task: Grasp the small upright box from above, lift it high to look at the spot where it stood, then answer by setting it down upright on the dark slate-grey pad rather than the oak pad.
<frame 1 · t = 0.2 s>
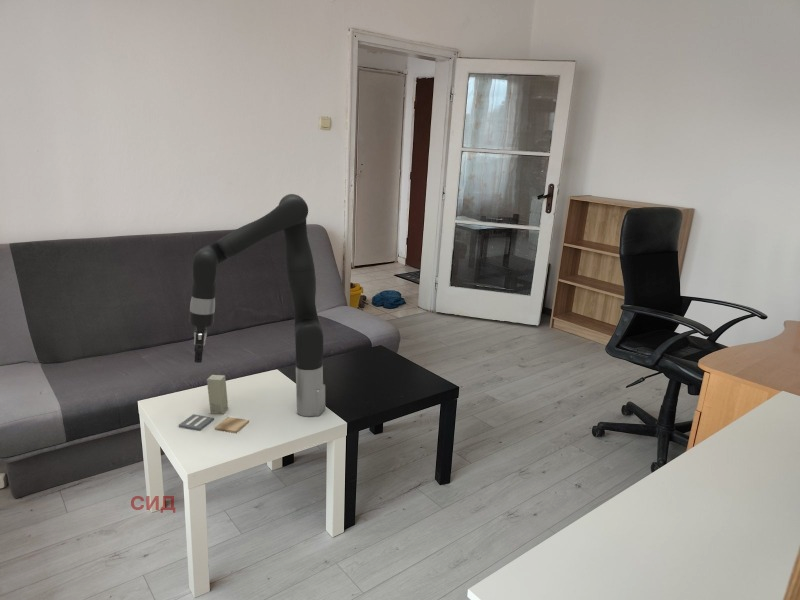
hand: (198, 357, 183), 22 cm above the table, tool pointing down, fingers open, 8 cm apart
pad oak: (232, 426, 185), on the table
pad slate: (196, 423, 186), on the table
box: (218, 411, 195), on the table
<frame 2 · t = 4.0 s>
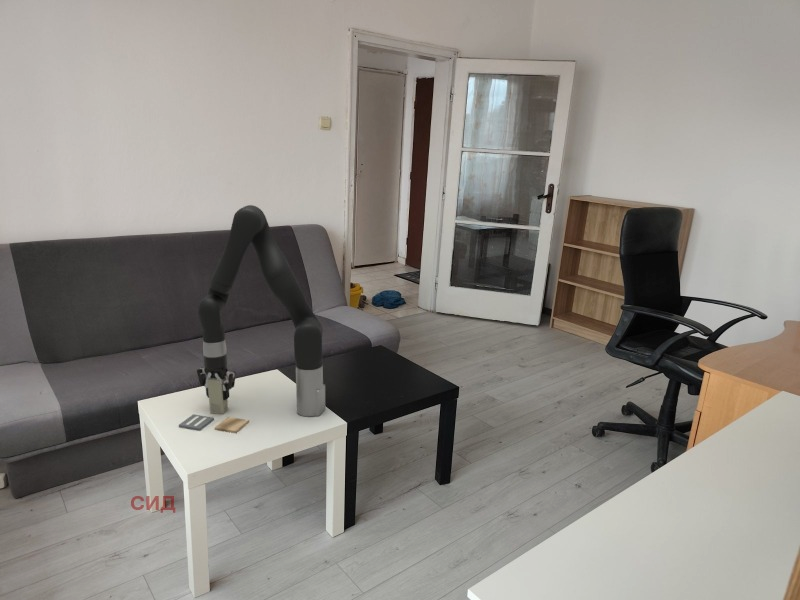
hand: (217, 398, 194), 5 cm above the table, tool pointing down, fingers closed on box, 5 cm apart
box: (218, 411, 195), on the table, touching gripper
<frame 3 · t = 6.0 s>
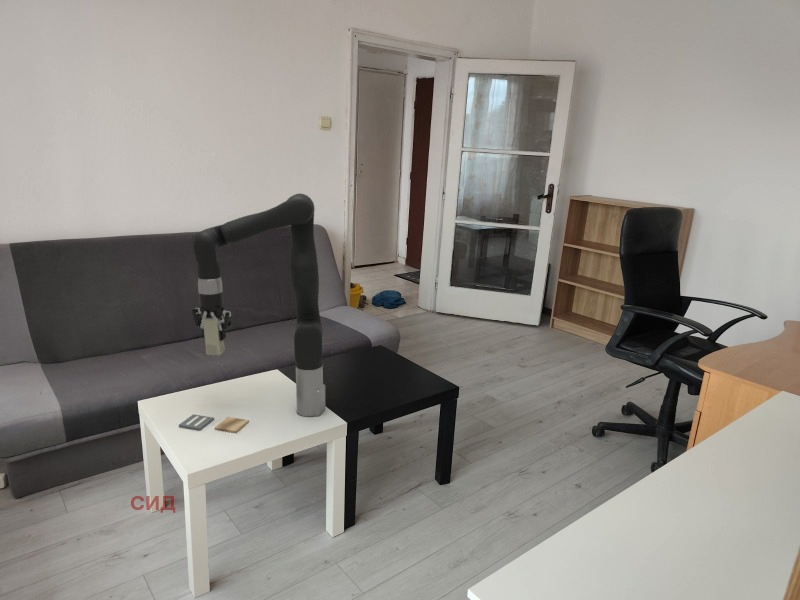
hand: (214, 339, 188), 27 cm above the table, tool pointing down, fingers closed on box, 5 cm apart
box: (215, 353, 190), point 21 cm above the table, touching gripper
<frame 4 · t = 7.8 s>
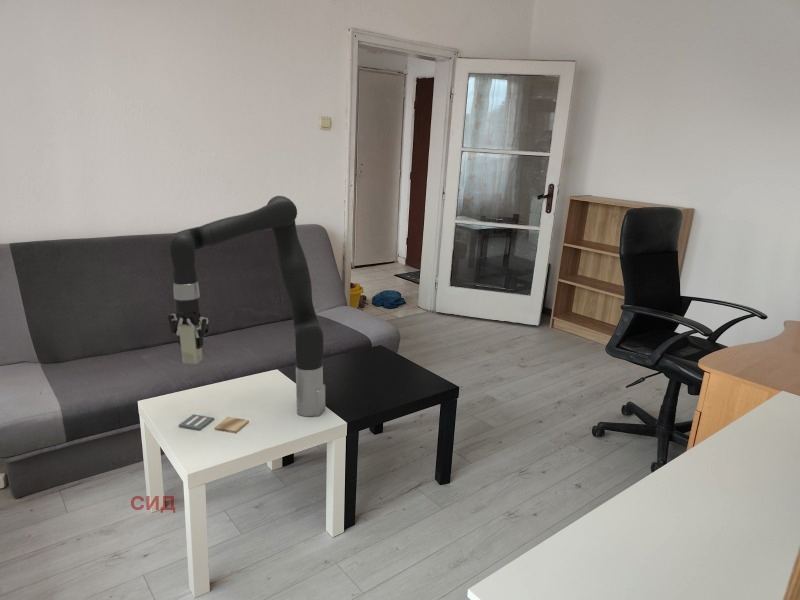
hand: (191, 346, 179), 27 cm above the table, tool pointing down, fingers closed on box, 5 cm apart
box: (192, 362, 181), point 22 cm above the table, touching gripper
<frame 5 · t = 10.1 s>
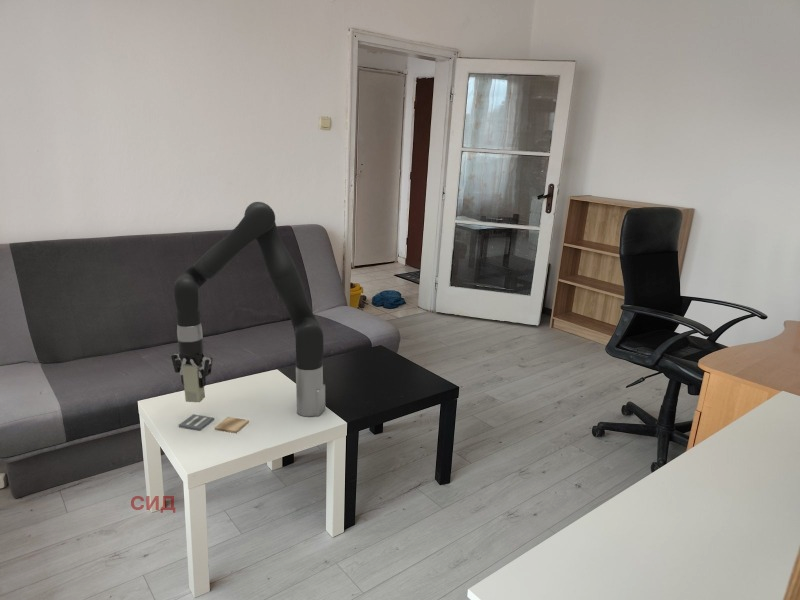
hand: (193, 385, 183), 14 cm above the table, tool pointing down, fingers closed on box, 5 cm apart
box: (195, 400, 184), point 8 cm above the table, touching gripper
when the fingers open (7 cm above the table, at t = 12.0 s): box stays where it is, resting on pad slate.
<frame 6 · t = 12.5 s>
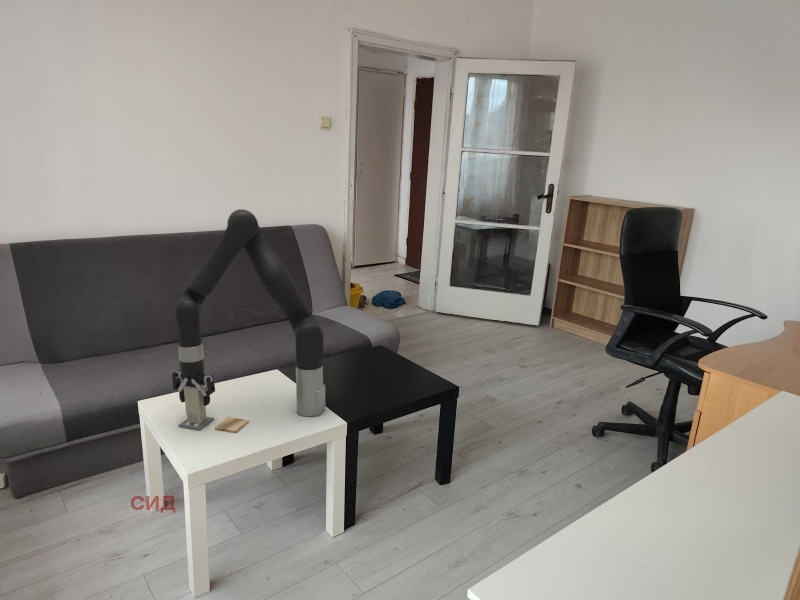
hand: (195, 403, 184), 7 cm above the table, tool pointing down, fingers open, 8 cm apart
box: (196, 421, 186), point 1 cm above the table, touching pad slate
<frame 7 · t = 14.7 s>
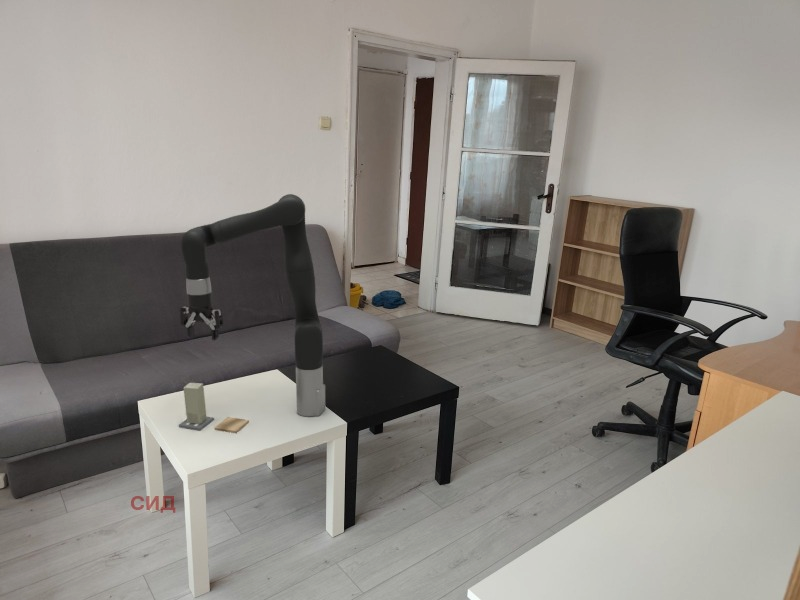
hand: (203, 338, 184), 28 cm above the table, tool pointing down, fingers open, 8 cm apart
nothing on the table moved.
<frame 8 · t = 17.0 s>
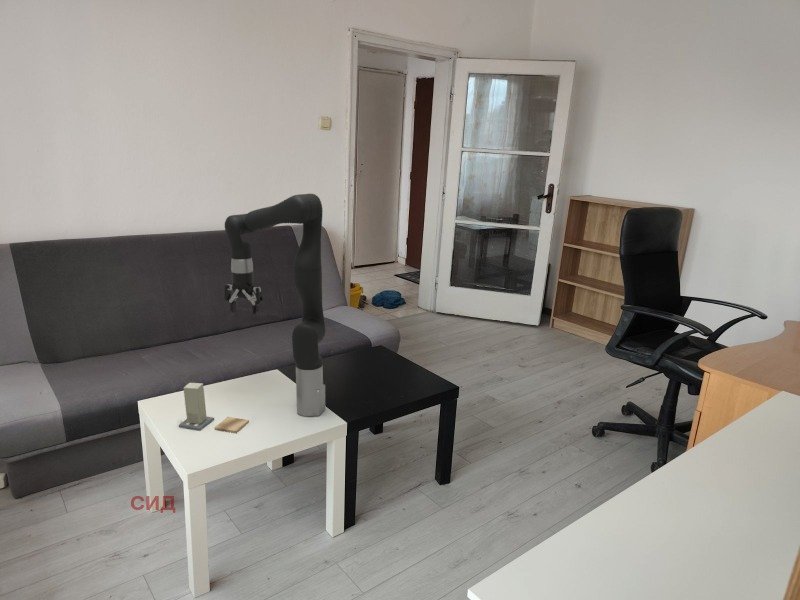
hand: (244, 313, 206), 30 cm above the table, tool pointing down, fingers open, 8 cm apart
nothing on the table moved.
at the end: box 0.1 cm from the pad slate (horizontally); box tilted 0°; the gripper is holding nothing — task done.
